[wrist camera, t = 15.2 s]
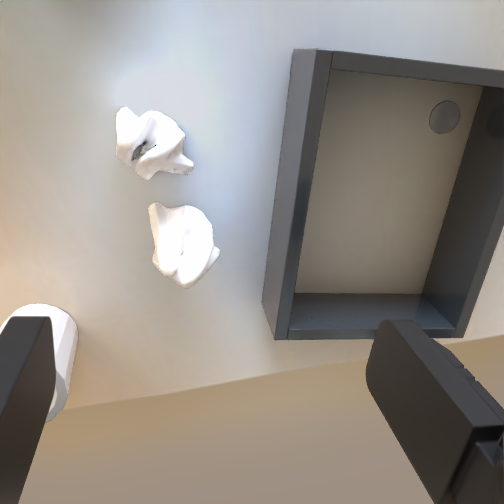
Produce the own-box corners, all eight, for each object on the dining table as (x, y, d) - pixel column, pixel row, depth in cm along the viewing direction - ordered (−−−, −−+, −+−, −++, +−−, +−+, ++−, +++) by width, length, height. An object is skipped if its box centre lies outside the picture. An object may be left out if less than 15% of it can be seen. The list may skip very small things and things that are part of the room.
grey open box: (261, 302, 37) (274, 340, 32) (293, 48, 29) (316, 48, 24) (428, 303, 40) (463, 338, 35) (499, 73, 32) (558, 77, 27)
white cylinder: (-20, 308, 33) (-65, 367, 27) (68, 287, 34) (43, 341, 28) (17, 374, 36) (-16, 441, 30) (97, 355, 37) (81, 417, 31)
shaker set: (219, 247, 34) (236, 326, 25) (169, 262, 34) (165, 347, 24) (172, 93, 29) (171, 115, 19) (112, 110, 29) (79, 140, 19)
